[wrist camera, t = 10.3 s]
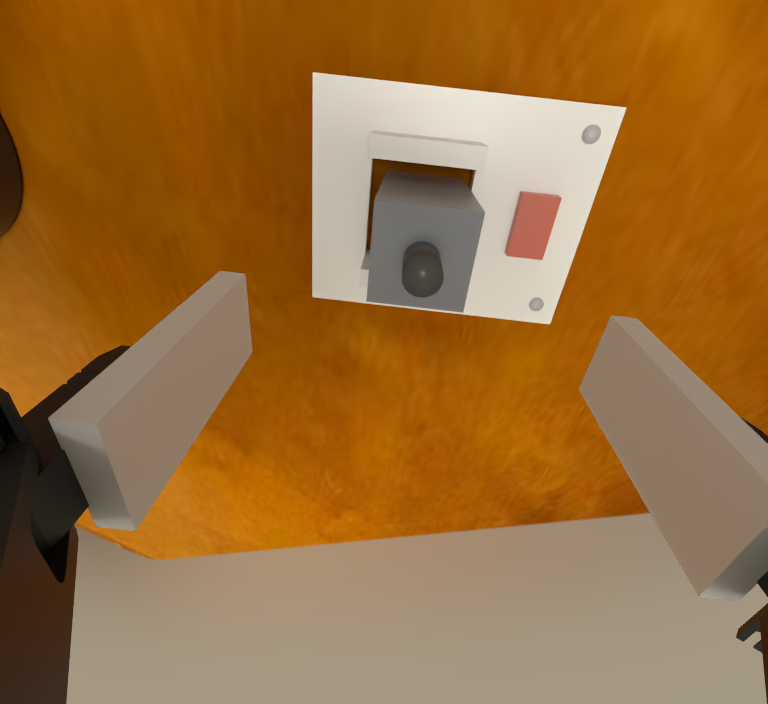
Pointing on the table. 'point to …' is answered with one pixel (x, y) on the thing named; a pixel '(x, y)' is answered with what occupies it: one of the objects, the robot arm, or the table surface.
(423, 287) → the plug
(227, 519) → the table surface
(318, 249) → the socket
